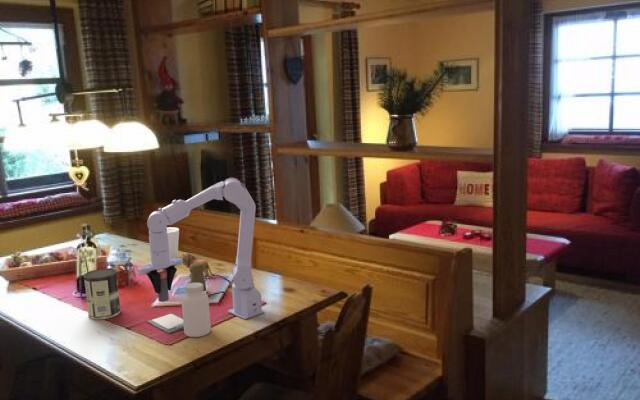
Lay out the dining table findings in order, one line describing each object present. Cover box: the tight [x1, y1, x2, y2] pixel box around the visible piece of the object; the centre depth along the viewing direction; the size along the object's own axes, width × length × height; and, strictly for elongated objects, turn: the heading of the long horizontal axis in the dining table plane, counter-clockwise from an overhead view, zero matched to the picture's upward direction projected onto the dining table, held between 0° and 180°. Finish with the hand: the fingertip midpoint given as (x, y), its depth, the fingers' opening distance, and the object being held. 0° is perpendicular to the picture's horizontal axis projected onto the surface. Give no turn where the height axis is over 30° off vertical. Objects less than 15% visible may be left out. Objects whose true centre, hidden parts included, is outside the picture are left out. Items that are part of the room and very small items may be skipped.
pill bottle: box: [180, 282, 212, 338], centre depth 173 cm, size 8×8×15 cm
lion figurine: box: [180, 252, 216, 278], centre depth 225 cm, size 15×5×9 cm, turn 73°
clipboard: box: [146, 312, 184, 335], centre depth 181 cm, size 13×9×1 cm
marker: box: [157, 269, 170, 303], centre depth 182 cm, size 3×3×10 cm
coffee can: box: [83, 267, 122, 321], centre depth 189 cm, size 10×10×14 cm
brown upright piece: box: [188, 263, 207, 292], centre depth 206 cm, size 6×6×11 cm
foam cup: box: [167, 226, 180, 259], centre depth 248 cm, size 10×9×13 cm
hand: (163, 291), depth 182 cm, fingers closed on marker, 3 cm apart
